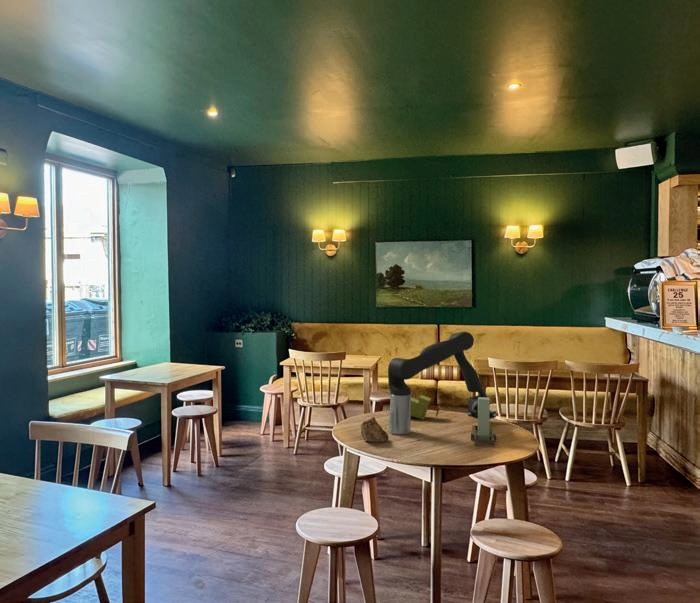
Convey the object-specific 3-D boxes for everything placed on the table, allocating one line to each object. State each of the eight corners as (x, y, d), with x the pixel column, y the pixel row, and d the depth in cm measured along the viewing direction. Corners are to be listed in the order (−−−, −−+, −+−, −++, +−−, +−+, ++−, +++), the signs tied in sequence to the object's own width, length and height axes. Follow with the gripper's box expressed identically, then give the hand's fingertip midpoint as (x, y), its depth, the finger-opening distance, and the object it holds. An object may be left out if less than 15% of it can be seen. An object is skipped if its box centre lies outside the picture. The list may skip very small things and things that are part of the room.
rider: (477, 436, 219) (477, 396, 219) (488, 437, 218) (489, 397, 218) (478, 440, 213) (478, 399, 213) (489, 440, 212) (490, 399, 212)
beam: (469, 430, 231) (469, 424, 231) (492, 432, 229) (492, 426, 229) (471, 445, 208) (471, 438, 207) (497, 447, 205) (497, 440, 205)
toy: (434, 424, 259) (397, 410, 263) (441, 401, 258) (404, 388, 262) (433, 428, 250) (394, 414, 254) (440, 405, 249) (401, 391, 253)
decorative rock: (362, 444, 208) (362, 418, 208) (358, 440, 214) (358, 415, 214) (389, 442, 211) (390, 416, 211) (385, 438, 217) (385, 413, 217)
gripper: (466, 400, 236) (467, 408, 219) (495, 402, 233) (499, 410, 216) (466, 417, 236) (467, 426, 219) (495, 418, 233) (499, 427, 216)
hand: (483, 418), depth 218 cm, fingers closed
